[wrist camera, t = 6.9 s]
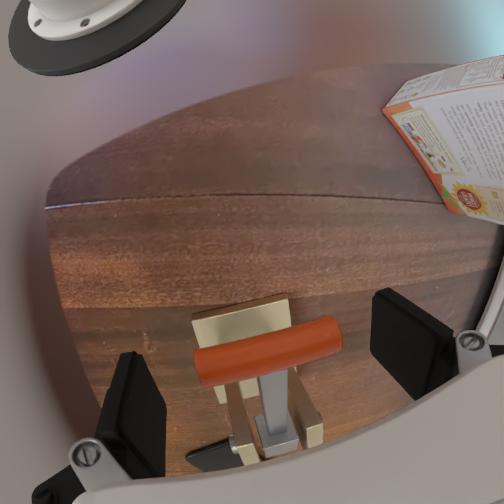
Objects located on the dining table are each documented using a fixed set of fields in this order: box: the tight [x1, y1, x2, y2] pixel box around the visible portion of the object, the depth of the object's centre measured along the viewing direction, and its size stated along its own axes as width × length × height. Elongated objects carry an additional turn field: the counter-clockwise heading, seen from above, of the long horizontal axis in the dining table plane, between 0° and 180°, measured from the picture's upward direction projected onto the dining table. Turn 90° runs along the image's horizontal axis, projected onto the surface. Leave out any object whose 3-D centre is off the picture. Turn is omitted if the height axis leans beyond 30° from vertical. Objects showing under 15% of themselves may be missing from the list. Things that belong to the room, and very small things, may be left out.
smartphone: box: [185, 439, 265, 472], centre depth 30 cm, size 8×1×16 cm
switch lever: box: [194, 316, 343, 458], centre depth 12 cm, size 12×5×2 cm, turn 10°
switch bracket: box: [191, 293, 324, 466], centre depth 19 cm, size 10×8×12 cm
